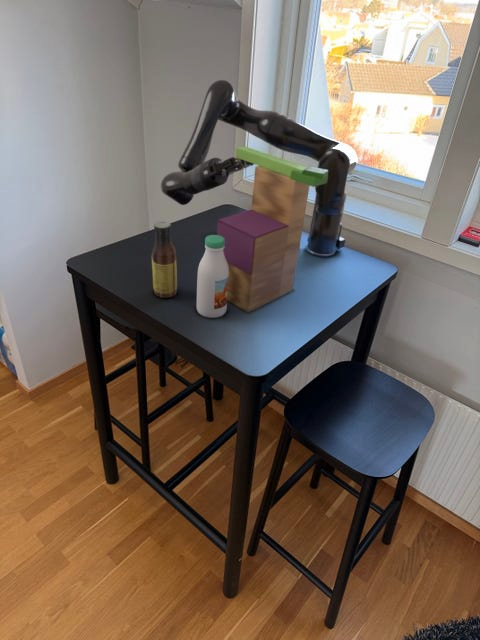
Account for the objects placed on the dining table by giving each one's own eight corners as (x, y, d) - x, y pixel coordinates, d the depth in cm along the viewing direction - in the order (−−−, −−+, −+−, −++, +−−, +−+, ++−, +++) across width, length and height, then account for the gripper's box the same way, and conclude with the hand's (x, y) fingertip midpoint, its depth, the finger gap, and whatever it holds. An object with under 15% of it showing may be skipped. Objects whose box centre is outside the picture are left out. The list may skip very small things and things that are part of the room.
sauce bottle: (164, 284, 128) (163, 216, 117) (182, 292, 125) (182, 223, 114) (147, 293, 124) (144, 223, 113) (165, 302, 121) (163, 231, 110)
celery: (232, 157, 121) (233, 146, 120) (247, 154, 125) (248, 143, 123) (315, 187, 106) (317, 175, 105) (330, 183, 110) (332, 171, 108)
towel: (215, 256, 121) (217, 219, 115) (248, 244, 128) (251, 209, 122) (250, 275, 114) (254, 237, 108) (282, 261, 121) (287, 225, 116)
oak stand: (213, 292, 127) (220, 174, 109) (258, 272, 138) (271, 162, 120) (248, 312, 120) (260, 190, 102) (292, 290, 131) (311, 176, 113)
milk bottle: (202, 321, 115) (205, 247, 104) (192, 304, 121) (193, 233, 110) (231, 315, 118) (236, 243, 107) (220, 300, 124) (224, 229, 113)
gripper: (185, 165, 129) (222, 147, 116) (223, 158, 138) (260, 140, 125) (194, 192, 130) (231, 177, 118) (230, 183, 139) (268, 168, 127)
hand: (246, 158), depth 122 cm, fingers open, 8 cm apart
